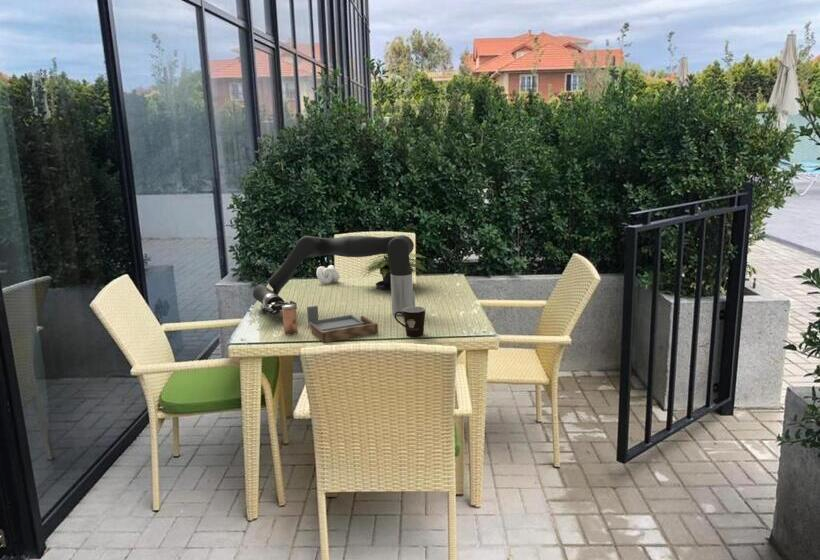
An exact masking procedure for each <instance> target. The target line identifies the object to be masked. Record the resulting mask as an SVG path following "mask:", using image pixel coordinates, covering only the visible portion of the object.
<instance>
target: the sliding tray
mask: <svg viewBox="0 0 820 560" xmlns="http://www.w3.org/2000/svg"><path fill="white" fill-rule="evenodd" d="M306 311H307V313H306V315H307V316H306V317H307V326H309V327H310V328H311V324H315V325H316V326H318V327H319V328H320V329H321V330H323V331H328V330H335V329H341V328H347V327H353V326H360V325H365V323H364V322H362V321H361V319H359V318H358V317H356V316H354V315H353V314H346V315H339V316H333V317H327V318H321V319H319V307H318V305H310V306H307V307H306Z"/></svg>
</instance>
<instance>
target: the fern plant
mask: <svg viewBox="0 0 820 560" xmlns="http://www.w3.org/2000/svg"><path fill="white" fill-rule="evenodd" d="M415 258H424V259H425V258H426V259H427V257H426V256H423V255H421V254H418V253H410V254H409V263H410V266H411V267H412V274H413V273H414V274H415V275H416V276H418V274H420V275H423V273H422V272H420V271H419V270H421V271H425V272H428V271H427V270H426V268H425V267H424V265H423V264H421V263H422V261H421V260H419V259H415ZM365 264H366V266H365V267H364V265H363V266H362V267H361V268H362V270H363V271H361V272H360V275H362V274H363V273H364V275H363V276H362V278H364V277H365V276H366V275H367V276H370V275H371V274H374V273H375V271H377V270H379V273H380V275H381V276H382V280H380V281H377V282H376V283H375V286H376V287H375V288H376V290H378V291H382V290H383V291H384V292H391V273H390V268H389V263H388V254H380V255H377V258H375V259H374V260H372V259H371V260H369V262H368V261H366V262H365ZM368 264H369V265H368ZM418 269H419V270H418ZM416 272H417V273H418V274H417V273H416ZM362 278H361V279H362Z"/></svg>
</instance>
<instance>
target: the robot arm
mask: <svg viewBox="0 0 820 560" xmlns="http://www.w3.org/2000/svg"><path fill="white" fill-rule="evenodd" d="M414 246H415V244H414V241H413V240H412V238H410V237H409V236H407V235H404V234H401V235H394V236H381V237H380V236H372V235H371V236H368V235H346V236H339V237H333V238H331V237H330V238H328V237H320V236H313V235H305V236H302V237H301V238H299V240H298V241H297V242H296V244H295V246H294V247H293V249H292V250H291V252H290V253H289V254H288V256H287V258H286V259H285V260H284V262H283V263H282V264H281V265H280V266H279V267H278V269H277V270H276V271H275V272H274V273H273V274H272V275H271V276H270V278H268V281H267V283H268V284H269V286H270V287H271V288H272V290H271V289H270V288H268V287H267V286H265V285H263V284H258V285H257V286H256V287H254V289H253V292H252V297H253V299H255V300H256V301H258V302H259V303H261V304H260V312H261V313H262V315H265V314H266V313H267V314H268V315H271V316H274V314H280V313H281V312H282V305H285V304H296V310H297V309H298V307H297V306H298V305H297V302H295V301H293V300H290V301H289V302H288V301H287V302H286V301H284V299H283V298H282V297H280V296H279V293H280V292H281V290H282V289H283V288H284V287H285V286H286V285H287V283H288V282H290V280H291V278H292V277H293V276H294V273H295V271H296V269H297V268H298V267H299V265H300V264H301V263H302V262H303V261H305V260H306V259H307V258H314V257H322V256H339V257H344V258H365V257H373V256H380V255H386V254H387V255H388V263H389V268H390V273H391V291H390V292H391V295H390V296H391V298H390V299H391V314H392V315H393V316H395V313H396V312H399V311H400V312H403V309H404V308H407V307H416V293H415V292H416V291H415V290H413V289H414V288H413V272H412V267H411V266H410V263H409V258H410V257H409V256H410V255H409V254H412V252H413V250H414V248H415V247H414ZM396 316H403V315H402V314H401V313H397V314H396Z"/></svg>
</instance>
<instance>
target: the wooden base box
mask: <svg viewBox="0 0 820 560" xmlns="http://www.w3.org/2000/svg"><path fill="white" fill-rule="evenodd" d="M360 320H361V321H362V322H364V323H365V325H360V326H353V327H347V328H341V329H335V330H328V331H323V330H321V329H320V328H319V327H318V326H316V325H315V324H311V327H310V330H311V332H312V333H311V334H312V335H314V336H315V337H316V338H317V339H318V340H320V341H321V343H328V342H336V341H341V340H347V339H353V337H354V338H359V337H358V336H360V337H366V336H371V335H370V334H372V335H377V334H376V333H378V334H379V328H378V327H379V326H378V323H377V322H373V320H371V319H369V318H368V317H366V316H364V315H363V316H360ZM365 335H366V336H365Z"/></svg>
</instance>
